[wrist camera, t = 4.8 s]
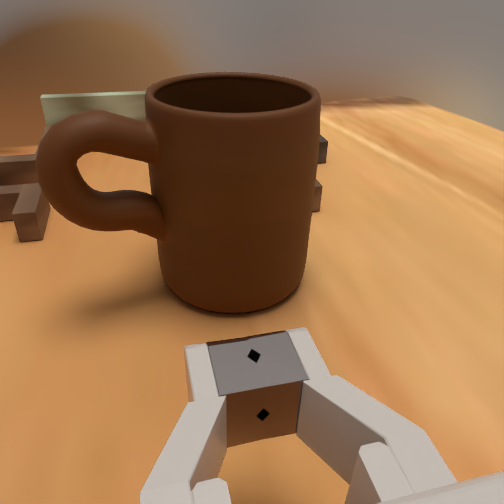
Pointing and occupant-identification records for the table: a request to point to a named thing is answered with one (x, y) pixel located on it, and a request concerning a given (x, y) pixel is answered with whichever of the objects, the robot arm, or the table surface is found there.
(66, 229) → the table surface
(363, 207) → the table surface
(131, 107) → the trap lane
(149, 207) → the mug
